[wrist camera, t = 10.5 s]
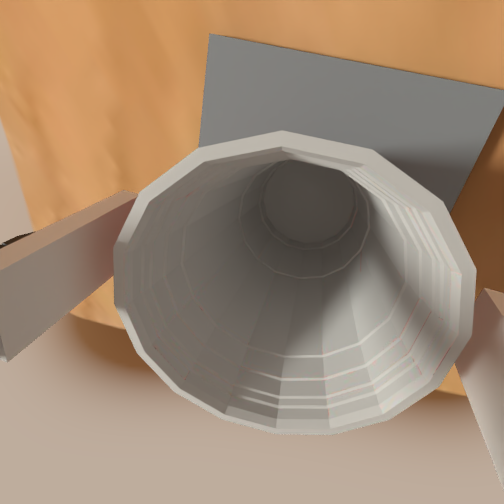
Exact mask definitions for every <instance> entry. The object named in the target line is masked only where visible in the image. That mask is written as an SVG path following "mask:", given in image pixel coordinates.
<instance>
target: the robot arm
mask: <svg viewBox="0 0 504 504" xmlns="http://www.w3.org/2000/svg"><path fill="white" fill-rule="evenodd" d="M137 197H138V194H136V193H133V192H129V191H125V190H123V191H120V192H118V193H116V194H114V195H112V196H110V197H108V198H106V199H104V200H102V201H99V202H97V203H95V204H93V205H91V206H89V207H87V208H85V209H83V210H81V211H79V212H76V213H74V214H72V215H70V216H68V217H66V218H64V219H62V220H60V221H58V222H55V223H53V224H51V225H49V226H47V227H45V228H43V229H41V230H39V231H37V232H32V233H28V234H24V235H20V236H17V237H15V238H12V239H10V240H8V241H6V242H4V243H2V245H0V360H2V361H5V362H9V361H10V360H11V359H12V358H13V357H15V356H16V355H17V354H18V353H20V352H21V351H22V350H23V349H24V348H26V347H27V346H28V345H29V344H30V343H32V342H33V341H34V340H35V339H37V338H38V337H39V336H40V335H41V334H43V333H44V332H45V331H46V330H47V329H48V328H50V327H51V326H52V325H54V324H55V323H56V322H57V321H59V320H60V319H61V318H62V317H63V316H65V315H66V314H67V313H68V312H69V311H71V310H72V309H73V308H74V307H76V306H77V305H78V304H79V303H80V302H82V301H83V300H84V299H85V298H87V297H88V296H89V295H90V294H91V293H93V292H94V291H95V290H96V289H97V288H99V287H100V286H101V285H102V284H104V283H105V282H106V281H107V280H108V279H110V278H111V277H112V276H113V275H114V268H113V247H114V245H115V243H116V241H117V239H118V236H119V234H120V232H121V230H122V228H123V226H124V224H125V222H126V220H127V218H128V215H129V213H130V211H131V209H132V207H133V205H134V203H135V201H136V199H137ZM455 365H456V368H457V370H458V373H459V376H460V378H461V381H462V383H463V386H464V389H465V391H466V394H467V396H468V399H469V402H470V404H471V407H472V409H473V412H474V415H475V417H476V420H477V422H478V425H479V428H480V430H481V433H482V435H483V438H484V441H485V443H486V446H487V449H488V451H489V454H490V456H491V459H492V461H493V464H494V467H495V469H496V472H497V475H498V477H499V480H500V482H501V485H502V488H503V490H504V293H502V292H498V291H495V290H491V289H487V288H483V290H482V292H481V293H480V295H479V296H478V298H477V299H476V301H475V303H474V314H473V328H472V336H471V338H470V339H469V341H468V342H467V344H466V345H465V347H464V349H463V350H462V352H461V353H460V355H459V356H458V358H457V359H456V361H455Z"/></svg>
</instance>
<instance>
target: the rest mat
mask: <svg viewBox="0 0 504 504" xmlns="http://www.w3.org/2000/svg"><path fill="white" fill-rule="evenodd" d="M503 107H504V90H500V89H495V88H489V87H484V86H479V85H474V84H469V83H464V82H458V81H453V80H448V79H443V78H438V77H432V76H427V75H422V74H417V73H412V72H407V71H401V70H396V69H391V68H386V67H381V66H375V65H370V64H365V63H360V62H355V61H350V60H344V59H339V58H334V57H329V56H324V55H318V54H313V53H308V52H303V51H298V50H292V49H287V48H282V47H277V46H272V45H267V44H261V43H256V42H251V41H246V40H241V39H235V38H230V37H225V36H220V35H215V34H209V44H208V55H207V65H206V75H205V86H204V96H203V107H202V117H201V128H200V138H199V148H200V147H205V146H210V145H214V144H219V143H224V142H229V141H233V140H238V139H243V138H248V137H253V136H257V135H262V134H267V133H272V132H277V131H281V130H283V131H288V132H292V133H297V134H302V135H306V136H311V137H316V138H321V139H325V140H330V141H335V142H340V143H344V144H349V145H354V146H358V147H363V148H368V149H373V150H374V151H375V152H377V153H378V154H379V155H381V156H382V157H383V158H385V159H386V160H388V161H389V162H390V163H392V164H393V165H394V166H396V167H397V168H398V169H400V170H401V171H402V172H404V173H405V174H407V175H408V176H409V177H411V178H412V179H413V180H415V181H416V182H417V183H419V184H420V185H421V186H423V187H424V188H426V189H427V190H428V191H430V192H431V193H432V194H434V195H435V196H436V197H438V198H439V199H440V200H442V201H443V202H444V204H445V206H446V208H447V210H448V212H449V214H450V212H451V210H452V208H453V206H454V204H455V202H456V200H457V198H458V196H459V194H460V192H461V190H462V188H463V186H464V184H465V182H466V180H467V178H468V176H469V174H470V172H471V170H472V168H473V166H474V164H475V162H476V160H477V158H478V156H479V154H480V152H481V150H482V148H483V146H484V144H485V142H486V140H487V138H488V136H489V134H490V132H491V130H492V128H493V126H494V124H495V122H496V120H497V118H498V117H499V115H500V113H501V111H502V109H503Z"/></svg>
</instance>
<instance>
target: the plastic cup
mask: <svg viewBox="0 0 504 504" xmlns="http://www.w3.org/2000/svg"><path fill="white" fill-rule="evenodd" d="M113 268H114V304H115V306H116V309H117V311H118V313H119V315H120V317H121V319H122V322H123V324H124V326H125V328H126V330H127V333H128V335H129V337H130V339H131V341H132V343H133V345H134V348H135V350H136V352H137V354H139V356H140V357H141V358H142V359H143V360H144V361H145V362H146V363H147V364H148V365H149V366H150V367H151V368H152V369H153V370H154V371H155V372H156V373H157V374H158V375H159V377H160V378H161V379H162V380H163V381H164V382H165V383H166V384H167V385H168V386H169V387H170V388H171V389H172V390H173V391H174V392H175V393H177V394H179V395H181V396H182V397H184V398H186V399H187V400H189V401H191V402H193V403H194V404H196V405H198V406H200V407H201V408H203V409H205V410H207V411H208V412H210V413H212V414H214V415H215V416H217V417H219V418H220V419H222V420H226V421H230V422H233V423H237V424H241V425H244V426H248V427H252V428H255V429H259V430H263V431H267V432H270V433H274V434H303V435H304V434H305V435H335V434H338V433H342V432H345V431H349V430H353V429H357V428H361V427H364V426H368V425H371V424H375V423H379V422H383V421H386V420H390V419H391V418H392V417H394V416H396V415H397V414H399V413H400V412H402V411H403V410H405V409H406V408H408V407H409V406H411V405H412V404H414V403H415V402H416V401H418V400H420V399H421V398H422V397H424V396H426V395H427V394H429V393H430V392H432V391H433V390H435V389H436V388H438V387H439V386H440V384H441V383H442V381H443V380H444V378H445V377H446V375H447V373H448V372H449V370H450V369H451V367H452V366H453V364H454V363H455V361H456V359H457V358H458V356H459V355H460V353H461V352H462V350H463V349H464V347H465V345H466V344H467V342H468V341H469V339H470V338H471V336H472V328H473V314H474V300H475V286H476V272H477V269H476V267H475V265H474V263H473V261H472V259H471V257H470V255H469V253H468V251H467V249H466V247H465V245H464V243H463V241H462V239H461V237H460V235H459V233H458V231H457V229H456V227H455V225H454V222H453V220H452V218H451V216H450V214H449V212H448V210H447V208H446V206H445V204H444V202H443V201H442V200H440V199H439V198H438V197H436V196H435V195H434V194H432V193H431V192H430V191H428V190H427V189H426V188H424V187H423V186H421V185H420V184H419V183H417V182H416V181H415V180H413V179H412V178H411V177H409V176H408V175H407V174H405V173H404V172H402V171H401V170H400V169H398V168H397V167H396V166H394V165H393V164H392V163H390V162H389V161H388V160H386V159H385V158H383V157H382V156H381V155H379V154H378V153H377V152H375V151H374V150H373V149H368V148H363V147H358V146H354V145H349V144H344V143H340V142H335V141H330V140H325V139H321V138H316V137H311V136H306V135H302V134H297V133H292V132H288V131H283V130H281V131H277V132H272V133H267V134H262V135H257V136H253V137H248V138H243V139H238V140H233V141H229V142H224V143H219V144H214V145H210V146H205V147H200V148H197V149H196V150H195V151H193V152H192V153H191V154H189V155H188V156H187V157H185V158H184V159H183V160H181V161H180V162H179V163H177V164H176V165H175V166H173V167H172V168H171V169H169V170H168V171H167V172H166V173H164V174H163V175H162V176H160V177H159V178H158V179H156V180H155V181H154V182H152V183H151V184H150V185H148V186H147V187H146V188H144V189H143V190H142V191H140V192H139V194H138V197H137V199H136V201H135V203H134V205H133V207H132V209H131V211H130V213H129V215H128V218H127V220H126V222H125V224H124V226H123V228H122V230H121V232H120V234H119V236H118V239H117V241H116V243H115V245H114V247H113Z"/></svg>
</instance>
